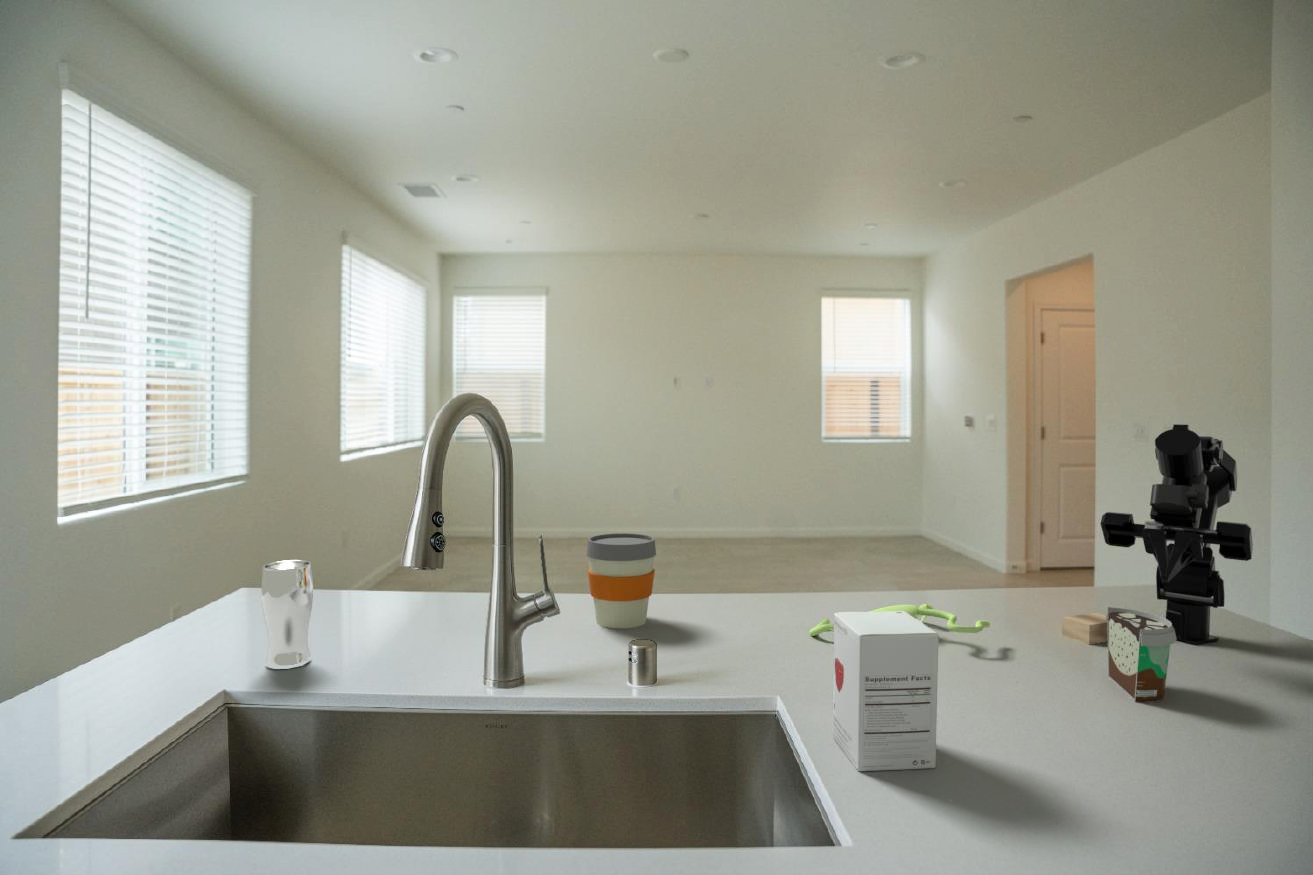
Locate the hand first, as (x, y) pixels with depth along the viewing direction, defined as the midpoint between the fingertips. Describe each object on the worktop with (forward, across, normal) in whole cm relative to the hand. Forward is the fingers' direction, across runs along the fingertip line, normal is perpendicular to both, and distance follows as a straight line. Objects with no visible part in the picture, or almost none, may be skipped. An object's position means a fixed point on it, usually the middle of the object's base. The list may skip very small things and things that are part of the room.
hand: (1164, 580), depth 112 cm
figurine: (+19, -35, +1) cm, 40 cm away
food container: (+17, 0, +2) cm, 17 cm away
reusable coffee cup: (+36, -76, -16) cm, 86 cm away
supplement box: (+47, -18, -28) cm, 58 cm away
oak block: (+2, -12, +18) cm, 22 cm away
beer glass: (+71, -96, -52) cm, 131 cm away
